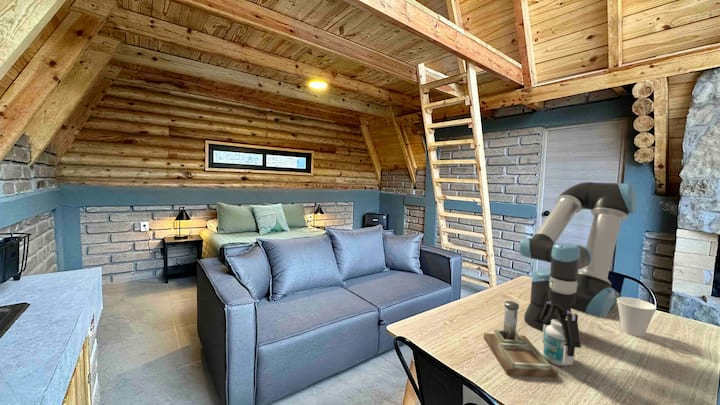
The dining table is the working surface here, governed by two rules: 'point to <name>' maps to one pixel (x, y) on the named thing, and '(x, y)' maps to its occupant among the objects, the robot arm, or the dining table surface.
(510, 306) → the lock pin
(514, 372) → the dock board
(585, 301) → the robot arm
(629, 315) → the cup
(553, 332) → the pill bottle
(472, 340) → the dining table surface
